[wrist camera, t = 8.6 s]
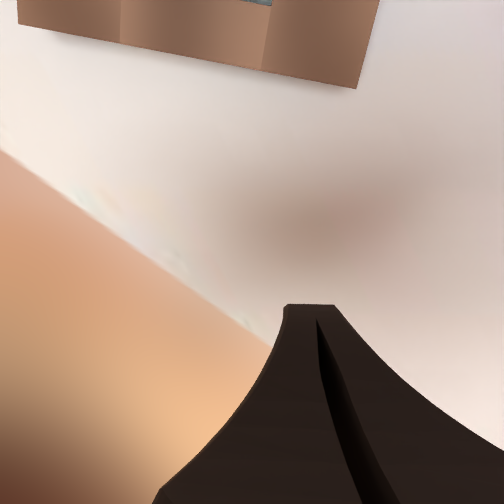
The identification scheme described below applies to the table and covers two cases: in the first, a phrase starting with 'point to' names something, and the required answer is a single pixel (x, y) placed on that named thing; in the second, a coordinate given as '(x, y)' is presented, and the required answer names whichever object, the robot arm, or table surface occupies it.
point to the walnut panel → (226, 31)
